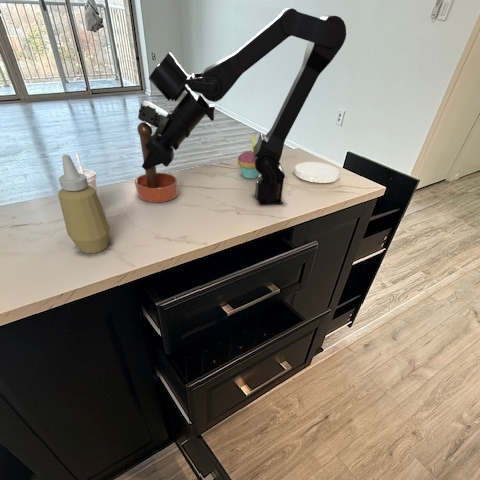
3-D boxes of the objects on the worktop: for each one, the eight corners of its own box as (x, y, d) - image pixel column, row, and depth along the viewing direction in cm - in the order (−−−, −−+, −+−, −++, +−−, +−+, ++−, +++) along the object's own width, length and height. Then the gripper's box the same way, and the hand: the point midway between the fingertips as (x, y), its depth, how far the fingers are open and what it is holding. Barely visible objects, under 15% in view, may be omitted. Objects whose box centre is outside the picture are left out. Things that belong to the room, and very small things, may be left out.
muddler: (164, 192, 87) (155, 122, 75) (154, 197, 84) (144, 125, 73) (153, 188, 88) (143, 119, 77) (143, 193, 86) (131, 122, 74)
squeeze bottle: (79, 236, 70) (49, 147, 57) (117, 236, 71) (95, 149, 58) (68, 257, 64) (32, 163, 52) (109, 257, 65) (83, 164, 52)
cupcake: (239, 169, 104) (241, 128, 96) (264, 172, 104) (269, 131, 95) (235, 179, 98) (237, 136, 90) (262, 182, 98) (266, 139, 89)
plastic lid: (312, 189, 96) (314, 180, 94) (285, 173, 104) (286, 165, 102) (346, 182, 101) (348, 173, 99) (318, 167, 109) (319, 159, 108)
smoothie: (97, 222, 75) (79, 159, 65) (72, 218, 76) (51, 155, 66) (111, 210, 79) (96, 150, 70) (87, 207, 80) (69, 146, 70)
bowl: (177, 186, 92) (175, 172, 89) (179, 202, 85) (178, 187, 82) (138, 187, 90) (135, 173, 87) (137, 204, 83) (134, 189, 80)
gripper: (163, 80, 77) (126, 130, 84) (148, 95, 63) (106, 152, 71) (197, 119, 82) (160, 162, 90) (190, 140, 69) (147, 189, 76)
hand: (144, 165), depth 81 cm, fingers closed on muddler, 3 cm apart
